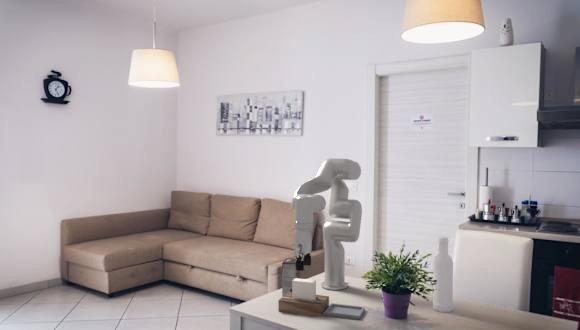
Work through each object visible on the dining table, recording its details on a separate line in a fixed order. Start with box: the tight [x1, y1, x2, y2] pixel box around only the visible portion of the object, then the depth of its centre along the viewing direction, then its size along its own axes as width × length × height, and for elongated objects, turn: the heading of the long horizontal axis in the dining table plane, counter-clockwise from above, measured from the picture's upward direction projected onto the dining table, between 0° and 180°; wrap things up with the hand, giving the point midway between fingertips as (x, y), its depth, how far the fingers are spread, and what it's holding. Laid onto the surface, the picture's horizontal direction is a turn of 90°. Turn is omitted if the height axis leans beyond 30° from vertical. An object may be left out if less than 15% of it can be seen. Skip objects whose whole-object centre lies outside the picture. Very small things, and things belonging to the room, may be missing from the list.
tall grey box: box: [281, 257, 301, 298], centre depth 215 cm, size 9×6×16 cm
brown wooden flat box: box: [278, 292, 330, 317], centre depth 198 cm, size 12×18×5 cm, turn 70°
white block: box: [292, 278, 317, 301], centre depth 198 cm, size 4×9×12 cm, turn 70°
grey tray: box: [323, 302, 366, 321], centre depth 193 cm, size 11×14×2 cm
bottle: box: [432, 235, 454, 313], centre depth 197 cm, size 8×8×30 cm
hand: (303, 267), depth 197 cm, fingers open, 9 cm apart
